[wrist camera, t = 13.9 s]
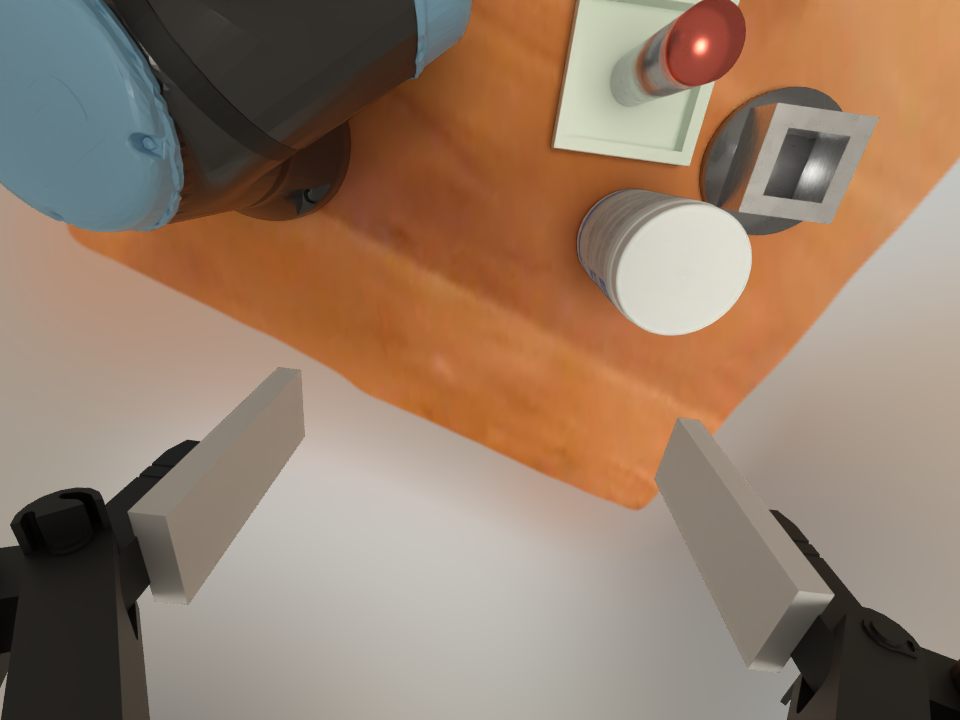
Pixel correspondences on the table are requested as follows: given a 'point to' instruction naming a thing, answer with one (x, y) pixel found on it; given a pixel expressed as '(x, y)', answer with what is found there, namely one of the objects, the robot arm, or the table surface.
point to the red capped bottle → (681, 54)
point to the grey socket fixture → (783, 159)
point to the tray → (591, 105)
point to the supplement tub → (665, 259)
